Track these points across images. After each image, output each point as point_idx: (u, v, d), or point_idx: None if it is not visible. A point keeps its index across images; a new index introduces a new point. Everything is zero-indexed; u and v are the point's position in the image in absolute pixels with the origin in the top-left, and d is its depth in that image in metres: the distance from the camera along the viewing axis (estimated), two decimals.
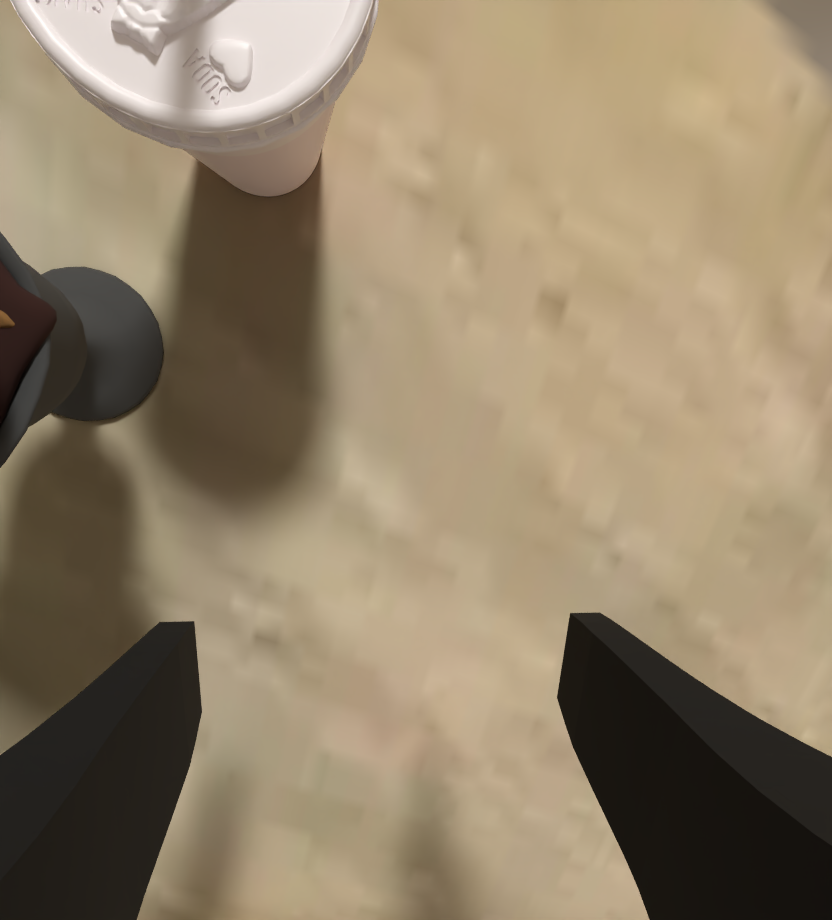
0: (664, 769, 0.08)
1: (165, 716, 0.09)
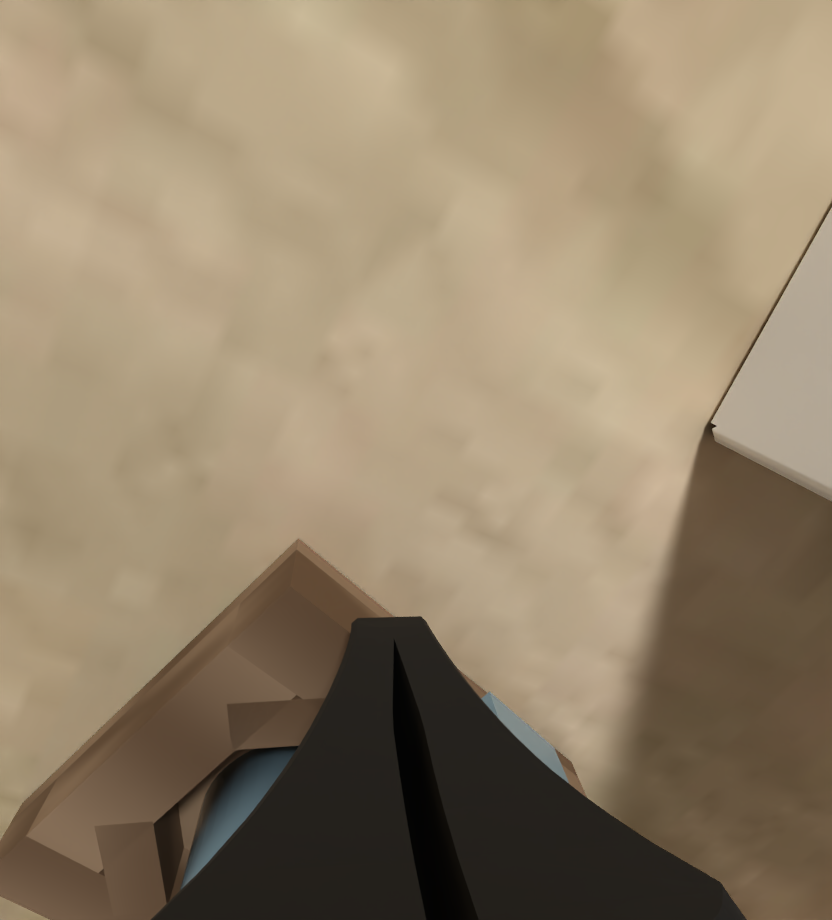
0: (418, 782, 0.08)
1: None
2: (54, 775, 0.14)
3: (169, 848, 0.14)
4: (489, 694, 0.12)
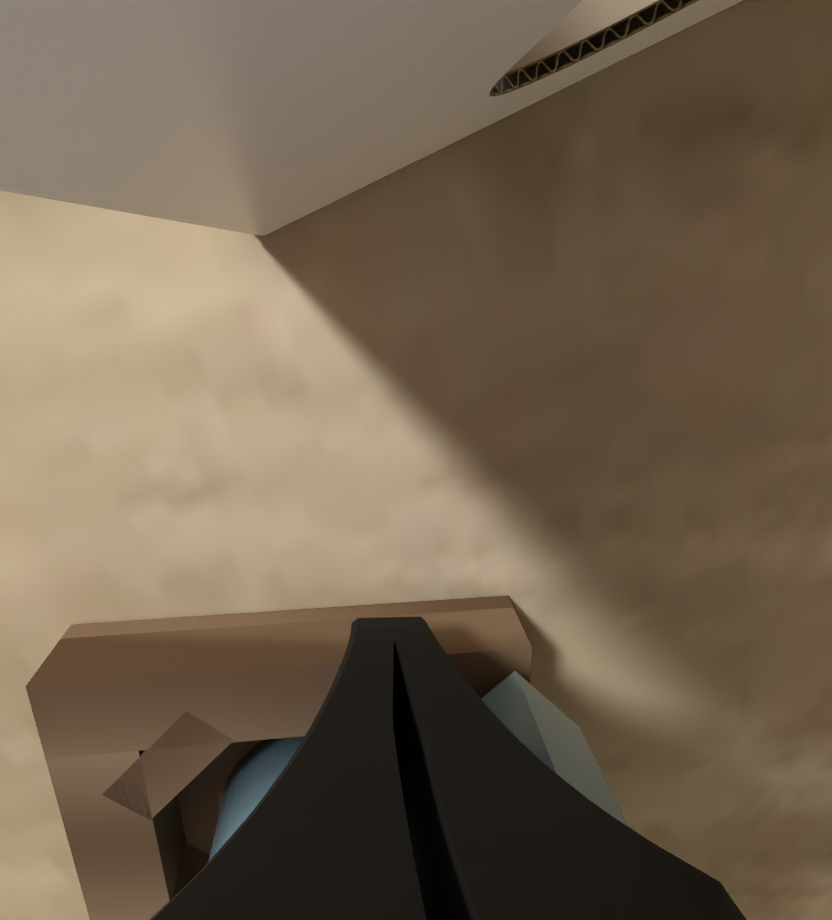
0: (418, 782, 0.08)
1: None
2: None
3: None
4: (514, 673, 0.12)
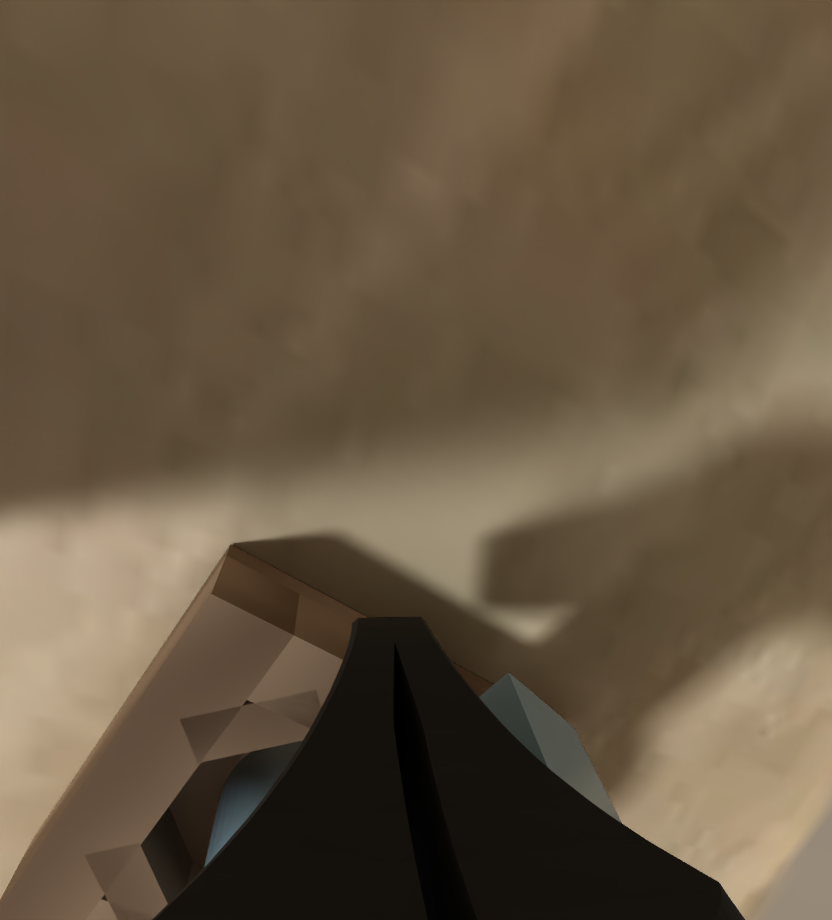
0: (417, 782, 0.08)
1: None
2: None
3: None
4: (508, 674, 0.12)
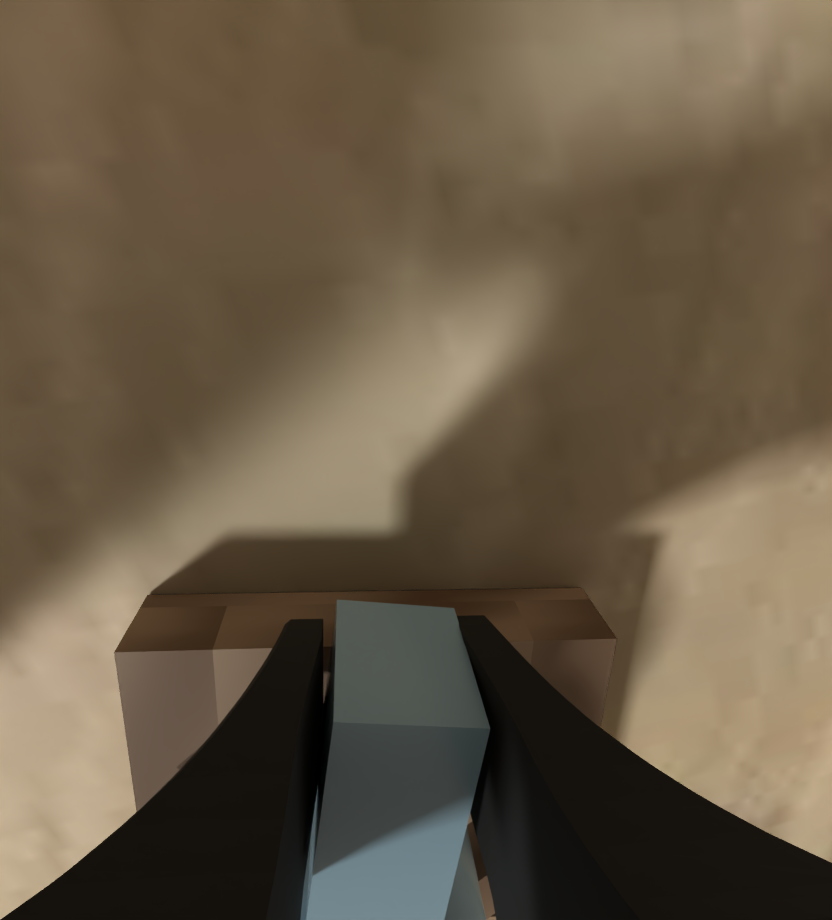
0: (506, 777, 0.08)
1: (315, 710, 0.09)
2: None
3: None
4: None
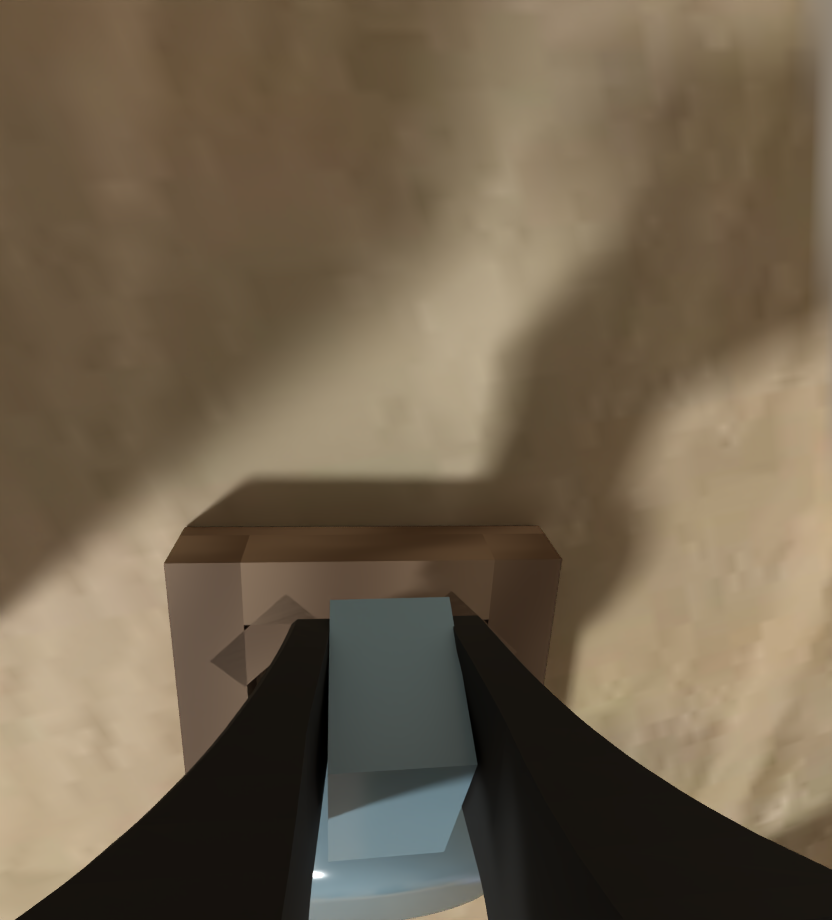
0: (498, 778, 0.08)
1: (322, 710, 0.09)
2: None
3: None
4: None
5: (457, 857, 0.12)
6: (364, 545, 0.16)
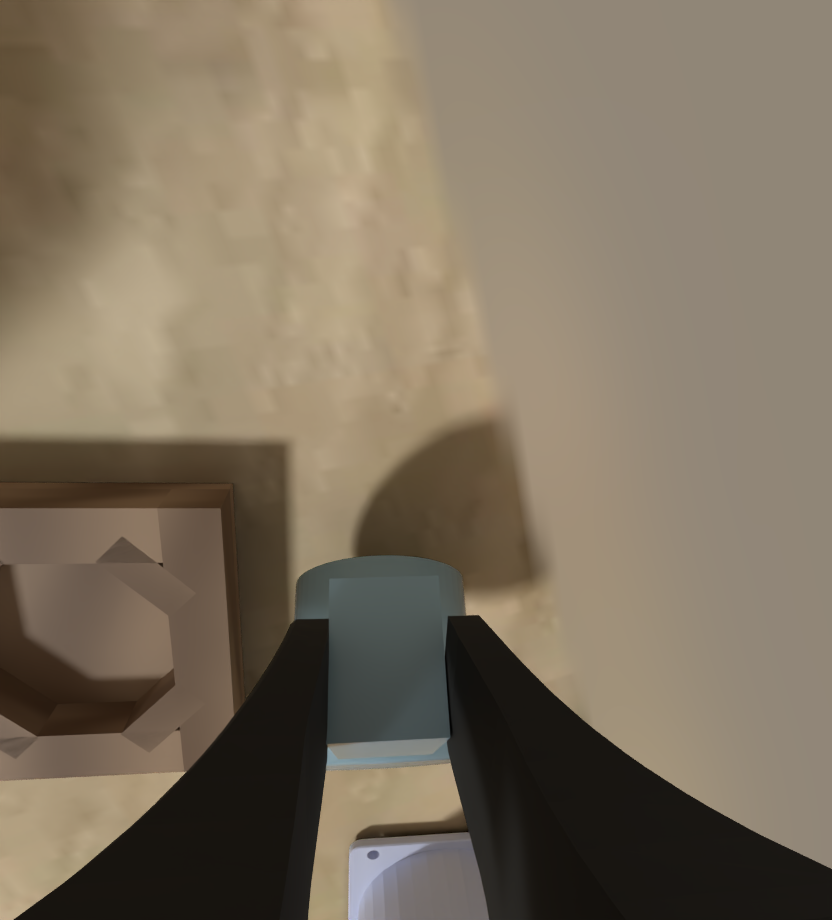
0: (499, 778, 0.08)
1: (321, 710, 0.09)
2: None
3: (158, 691, 0.20)
4: (329, 582, 0.12)
5: (444, 754, 0.14)
6: (49, 496, 0.18)
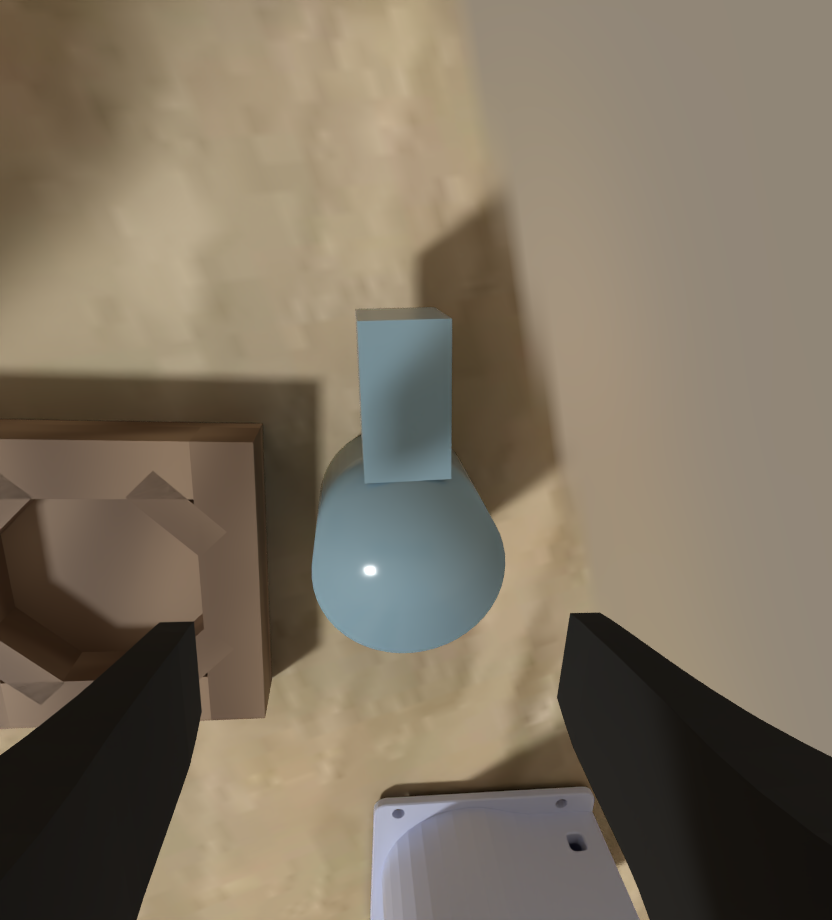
0: (664, 769, 0.08)
1: (165, 716, 0.09)
2: None
3: None
4: (355, 310, 0.16)
5: (464, 495, 0.15)
6: (78, 431, 0.17)
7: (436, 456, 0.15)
